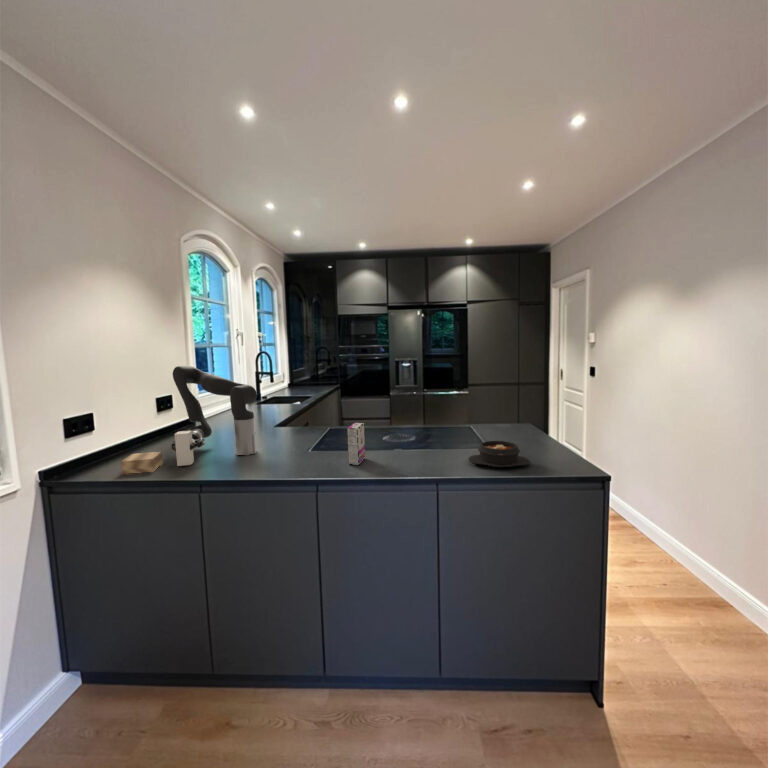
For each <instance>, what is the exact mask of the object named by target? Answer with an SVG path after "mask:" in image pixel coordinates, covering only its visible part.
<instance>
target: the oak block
mask: <svg viewBox="0 0 768 768" xmlns="http://www.w3.org/2000/svg"><path fill="white" fill-rule="evenodd" d="M163 459H164V458H163V451H151V452H140V453H131V454H130V455H128V456H127V457H126V458H124V459H122V460H121V461H120V466H121V472H122V473H121V475H122V474H126V475H130V474H129V473H138V474H142V473H141V472H150V473H155V472H156V471H157V470H158V469H159V468H160V467H161V466H163V465H164V464H163V463H164V461H163ZM159 466H160V467H159ZM158 467H159V468H158ZM157 468H158V469H157ZM156 469H157V470H156ZM155 470H156V471H155ZM154 471H155V472H154Z"/></svg>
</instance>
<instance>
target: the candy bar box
mask: <svg viewBox="0 0 768 768" xmlns="http://www.w3.org/2000/svg"><path fill="white" fill-rule="evenodd" d="M346 432H347V449H348V450H347V451H348V455H347V456H348V464H349V463H360V462H361V461H362V459H363V458H364V457H365V458H366V444H365V443H366V442H365V440H366V439H365V423H364V422H363V423H362V422H354V423H352V424H351V425H350V426H349V427H347V428H346Z"/></svg>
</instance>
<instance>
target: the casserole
mask: <svg viewBox="0 0 768 768" xmlns="http://www.w3.org/2000/svg"><path fill="white" fill-rule="evenodd" d="M477 450H478V451H479V454H475V455H473V454H472V455H470V456H469V457H468V459H467V460H468V461H469V462H470V463H472V464H477V465H483V466H487V465H488V466H487V467H490V466H494V467H508V468H513V467H518V466H527V465H529V464H531V461H530V459H528V458H527V457H525V456H522V455H521V456H520V455H519V453H520V452H521V451H520V450H521V449H519V447H518V444H516V443H514V442H510V441H504V440H489V441H483V442H481V443H480V445H479V447H478V448H477ZM494 467H493V468H494Z"/></svg>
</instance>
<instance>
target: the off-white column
mask: <svg viewBox="0 0 768 768" xmlns="http://www.w3.org/2000/svg"><path fill="white" fill-rule="evenodd" d="M174 441H175V445H176V451H175V452H176V453H175V455H176V465H177V467H182V466H191V465H192V464H193V463H194V462H195V456H194V455H195V454H194V449H192V450H190V444H191V443H192V431H189V430H181V431H177V432H175V433H174Z"/></svg>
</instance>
